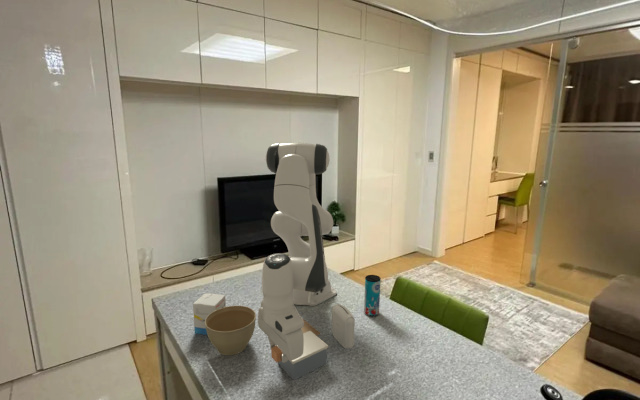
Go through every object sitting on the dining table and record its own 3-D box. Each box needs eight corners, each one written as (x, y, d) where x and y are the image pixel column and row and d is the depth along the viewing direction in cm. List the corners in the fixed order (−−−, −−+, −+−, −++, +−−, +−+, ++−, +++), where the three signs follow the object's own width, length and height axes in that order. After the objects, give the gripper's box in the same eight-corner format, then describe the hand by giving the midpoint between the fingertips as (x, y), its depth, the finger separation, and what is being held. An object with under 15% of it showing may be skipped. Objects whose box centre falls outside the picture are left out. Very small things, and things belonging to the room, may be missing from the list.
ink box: (216, 336, 117) (214, 306, 114) (194, 333, 118) (191, 303, 116) (227, 323, 125) (225, 294, 123) (206, 320, 127) (204, 292, 124)
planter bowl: (264, 336, 117) (263, 307, 115) (244, 366, 102) (243, 334, 100) (221, 330, 120) (220, 302, 118) (196, 359, 105) (194, 328, 103)
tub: (309, 349, 110) (309, 333, 109) (326, 365, 103) (326, 347, 102) (277, 364, 103) (277, 347, 102) (293, 381, 96) (293, 363, 94)
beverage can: (370, 318, 129) (372, 282, 126) (360, 311, 134) (362, 276, 131) (382, 314, 132) (383, 278, 129) (372, 307, 137) (373, 273, 134)
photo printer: (330, 334, 118) (330, 302, 116) (340, 331, 120) (341, 299, 118) (344, 351, 109) (345, 316, 107) (355, 347, 111) (356, 313, 109)
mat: (302, 319, 127) (302, 318, 127) (321, 334, 118) (321, 333, 118) (269, 332, 119) (269, 331, 119) (287, 349, 110) (287, 348, 110)
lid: (310, 335, 109) (310, 324, 108) (328, 350, 102) (328, 338, 101) (266, 354, 100) (265, 342, 99) (282, 372, 92) (282, 359, 92)
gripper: (252, 300, 100) (253, 341, 103) (287, 332, 84) (287, 380, 87) (270, 294, 104) (271, 334, 107) (307, 324, 88) (307, 370, 91)
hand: (279, 355), depth 97 cm, fingers open, 4 cm apart
